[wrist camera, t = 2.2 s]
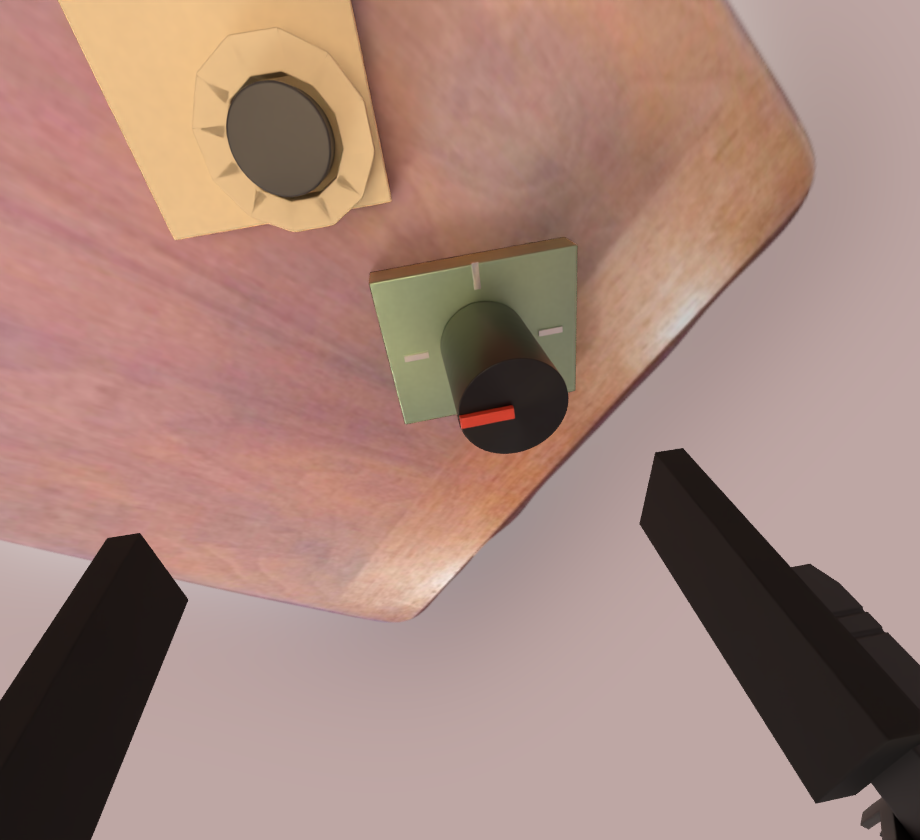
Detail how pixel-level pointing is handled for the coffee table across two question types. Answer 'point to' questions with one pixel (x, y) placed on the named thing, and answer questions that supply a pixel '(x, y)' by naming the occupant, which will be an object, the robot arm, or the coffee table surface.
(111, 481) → the coffee table surface
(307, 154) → the button
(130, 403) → the coffee table surface
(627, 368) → the coffee table surface
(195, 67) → the button box
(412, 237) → the coffee table surface
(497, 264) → the dial panel
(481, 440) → the knob
